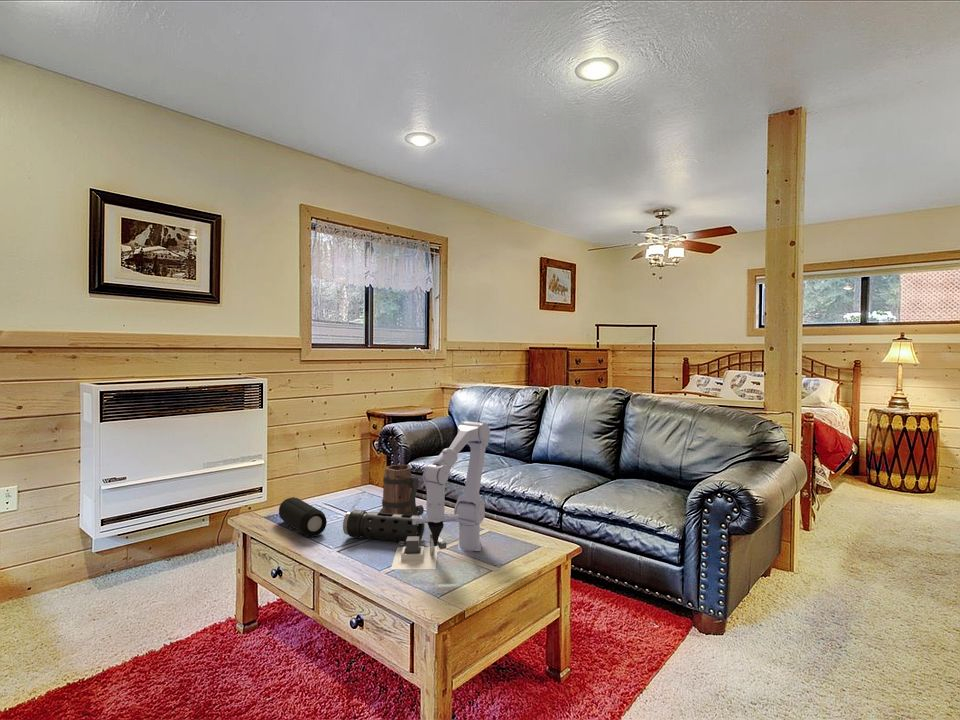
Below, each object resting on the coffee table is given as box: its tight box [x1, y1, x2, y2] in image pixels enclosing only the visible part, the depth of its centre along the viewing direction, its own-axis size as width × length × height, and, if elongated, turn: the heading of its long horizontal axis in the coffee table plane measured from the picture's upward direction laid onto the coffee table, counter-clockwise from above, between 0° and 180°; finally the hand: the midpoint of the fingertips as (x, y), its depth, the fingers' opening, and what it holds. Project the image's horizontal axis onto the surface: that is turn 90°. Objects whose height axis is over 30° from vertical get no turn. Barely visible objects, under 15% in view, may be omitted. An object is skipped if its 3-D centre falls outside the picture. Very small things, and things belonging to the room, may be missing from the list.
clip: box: [429, 531, 447, 556], centre depth 169 cm, size 2×12×8 cm, turn 24°
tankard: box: [379, 464, 425, 516], centre depth 216 cm, size 24×17×20 cm
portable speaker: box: [278, 496, 328, 538], centre depth 201 cm, size 26×10×10 cm, turn 42°
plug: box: [398, 536, 420, 554], centre depth 174 cm, size 4×7×6 cm, turn 92°
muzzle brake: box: [342, 509, 425, 543], centre depth 189 cm, size 10×28×10 cm, turn 78°
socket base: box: [390, 545, 439, 571], centre depth 173 cm, size 18×14×3 cm
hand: (435, 545), depth 166 cm, fingers closed
